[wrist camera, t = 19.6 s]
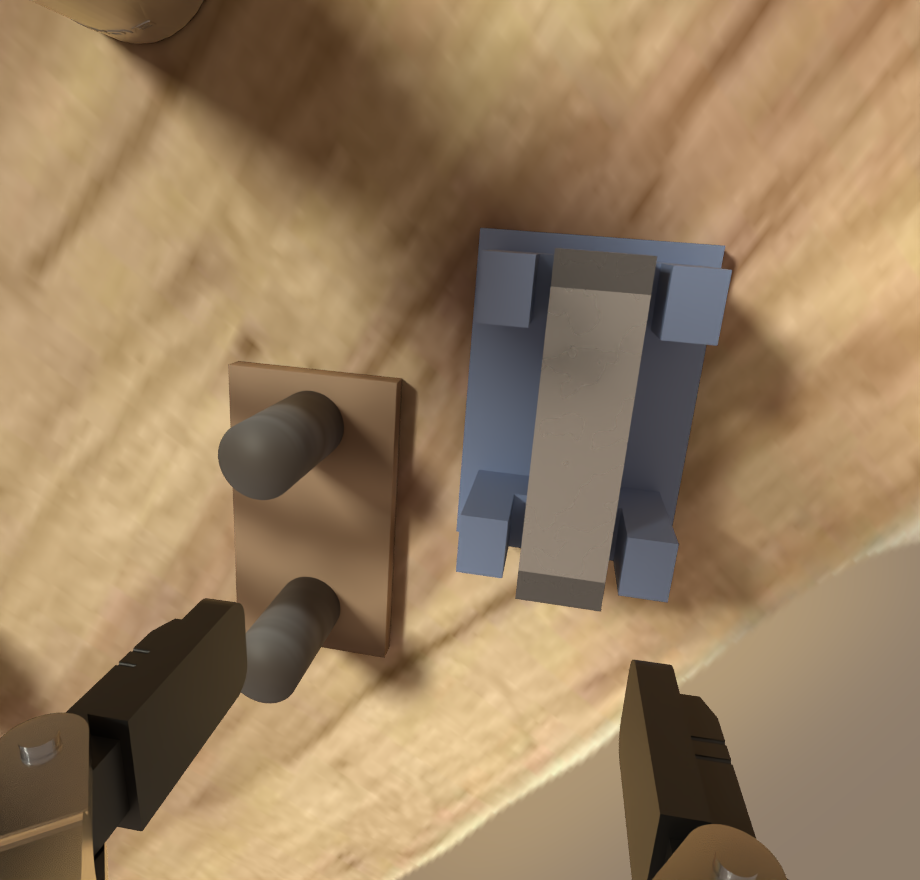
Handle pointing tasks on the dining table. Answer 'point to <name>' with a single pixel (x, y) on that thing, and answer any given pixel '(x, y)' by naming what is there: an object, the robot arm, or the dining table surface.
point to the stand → (311, 515)
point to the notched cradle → (517, 387)
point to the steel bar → (582, 423)
